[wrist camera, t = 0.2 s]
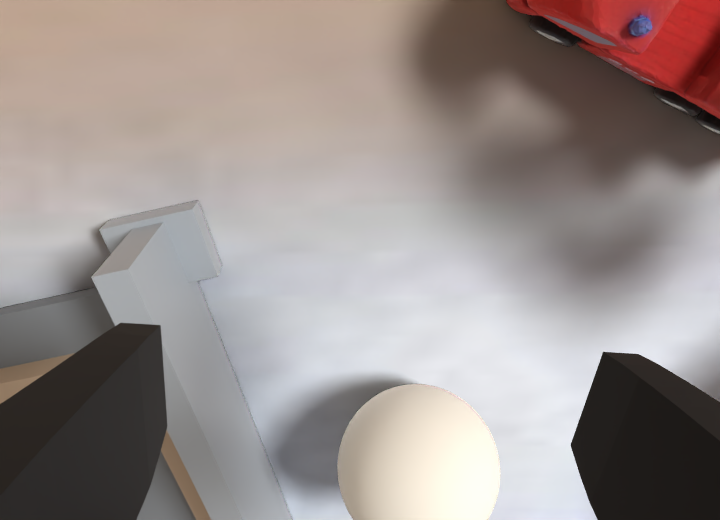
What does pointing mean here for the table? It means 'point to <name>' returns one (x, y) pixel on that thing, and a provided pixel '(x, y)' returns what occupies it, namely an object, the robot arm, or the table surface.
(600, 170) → the table surface
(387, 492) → the ball
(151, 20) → the table surface
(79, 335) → the resting mat
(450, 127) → the table surface
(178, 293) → the grey barrier bar
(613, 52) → the toy fire truck
